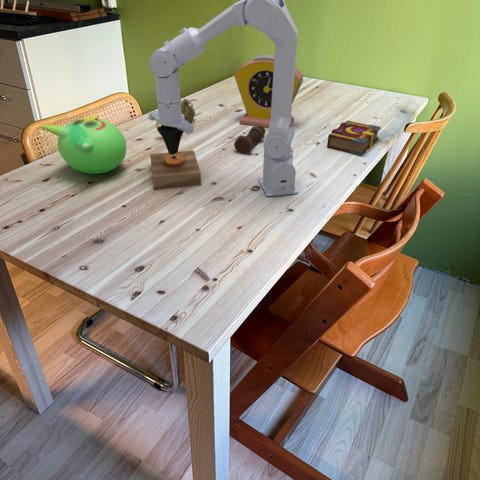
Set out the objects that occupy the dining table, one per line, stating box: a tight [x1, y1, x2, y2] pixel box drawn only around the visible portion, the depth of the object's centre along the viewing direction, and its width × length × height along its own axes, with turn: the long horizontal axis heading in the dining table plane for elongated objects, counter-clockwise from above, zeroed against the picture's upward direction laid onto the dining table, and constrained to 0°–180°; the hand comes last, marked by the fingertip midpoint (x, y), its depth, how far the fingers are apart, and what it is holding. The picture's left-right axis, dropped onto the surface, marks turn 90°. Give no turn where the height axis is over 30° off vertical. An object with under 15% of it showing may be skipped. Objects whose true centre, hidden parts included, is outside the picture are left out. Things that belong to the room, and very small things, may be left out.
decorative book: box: [326, 120, 381, 157], centre depth 135 cm, size 11×16×5 cm
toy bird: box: [41, 113, 127, 175], centre depth 116 cm, size 18×17×15 cm
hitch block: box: [149, 149, 202, 190], centre depth 117 cm, size 14×12×4 cm
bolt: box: [233, 126, 266, 156], centre depth 134 cm, size 6×5×15 cm
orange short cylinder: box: [163, 151, 185, 168], centre depth 117 cm, size 6×6×5 cm
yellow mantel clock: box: [233, 54, 304, 129], centre depth 144 cm, size 22×9×22 cm, turn 71°
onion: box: [181, 98, 196, 123], centre depth 149 cm, size 8×8×8 cm
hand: (173, 153), depth 115 cm, fingers closed
